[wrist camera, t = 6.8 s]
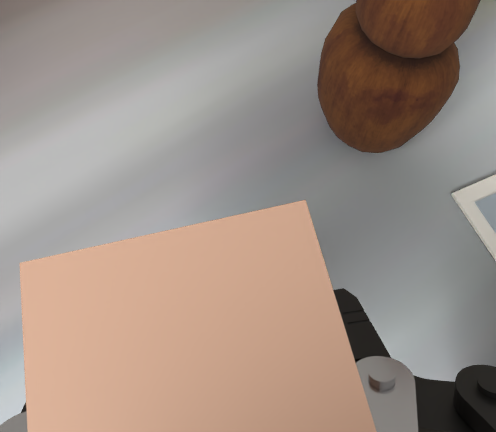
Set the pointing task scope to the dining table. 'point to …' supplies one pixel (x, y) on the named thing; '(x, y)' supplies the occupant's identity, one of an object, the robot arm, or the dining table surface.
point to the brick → (191, 333)
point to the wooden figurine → (390, 68)
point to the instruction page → (480, 209)
